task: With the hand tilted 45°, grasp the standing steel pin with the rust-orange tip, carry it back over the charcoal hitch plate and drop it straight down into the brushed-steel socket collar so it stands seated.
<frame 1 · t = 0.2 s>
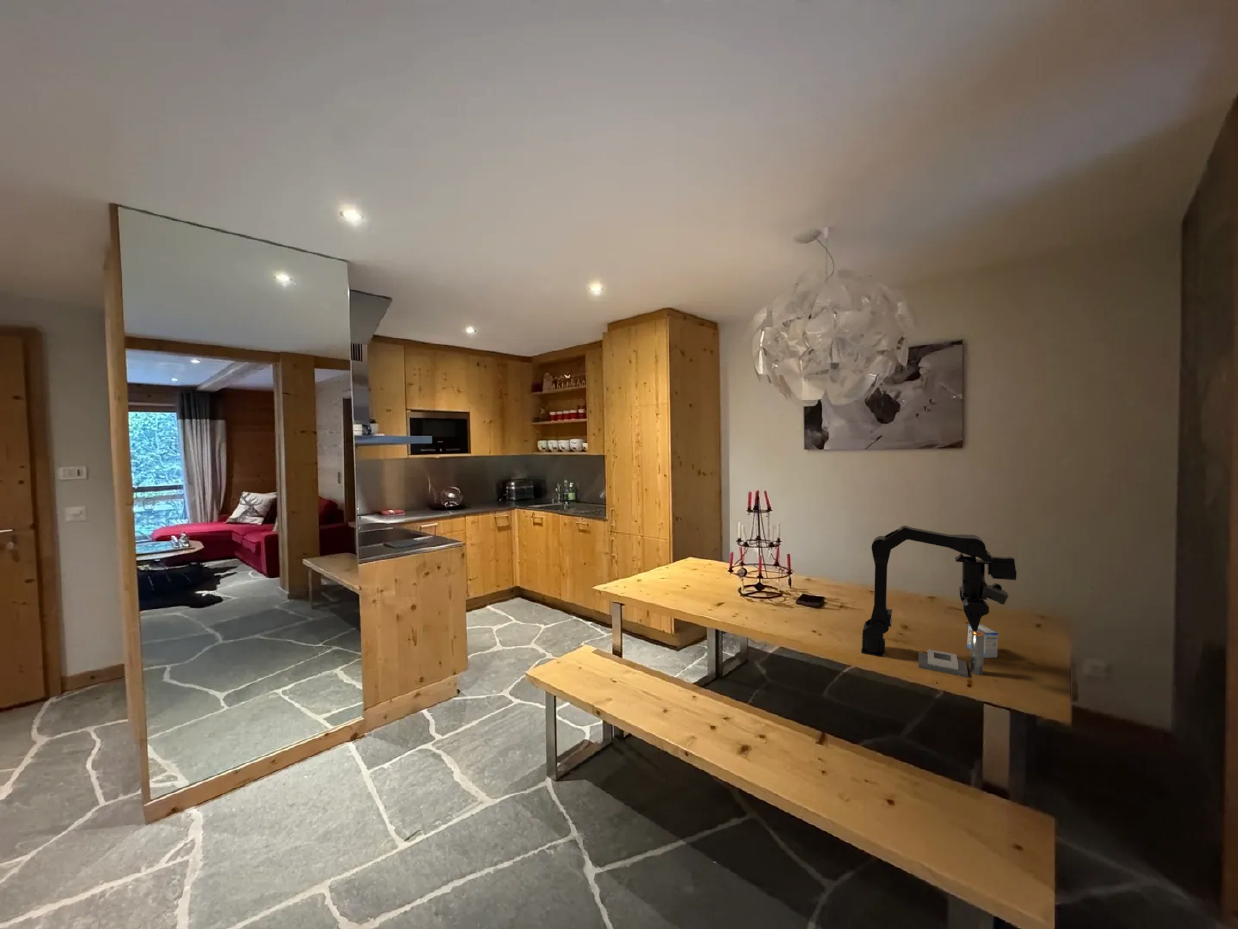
hand: (973, 625, 155), 15 cm above the table, tool pointing down, fingers open, 9 cm apart
hitch plate: (941, 665, 160), on the table
steel pin: (976, 672, 155), on the table
medicine box: (981, 653, 169), on the table
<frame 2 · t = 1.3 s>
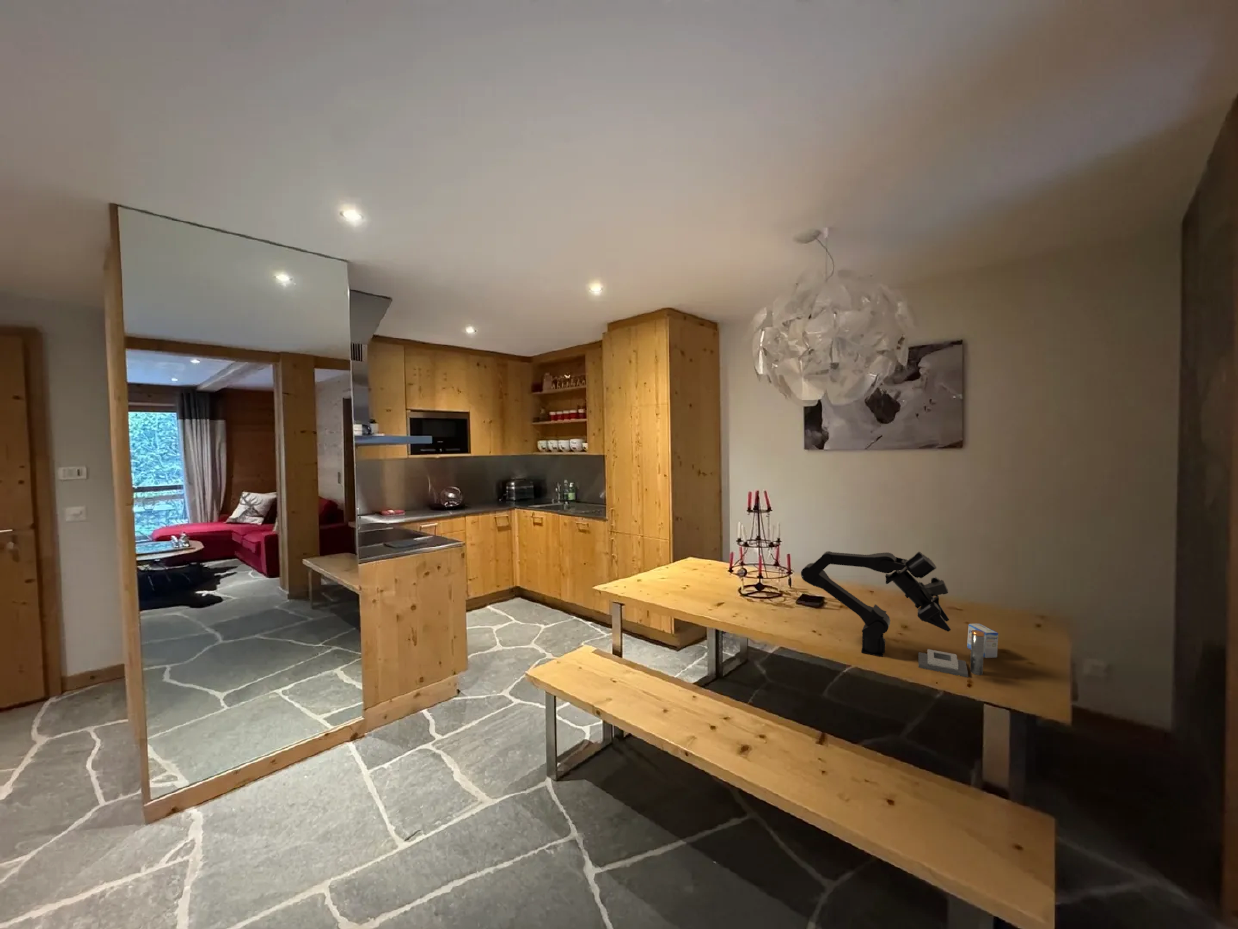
hand: (948, 625, 158), 14 cm above the table, tool tilted 45°, fingers open, 9 cm apart
nothing on the table moved.
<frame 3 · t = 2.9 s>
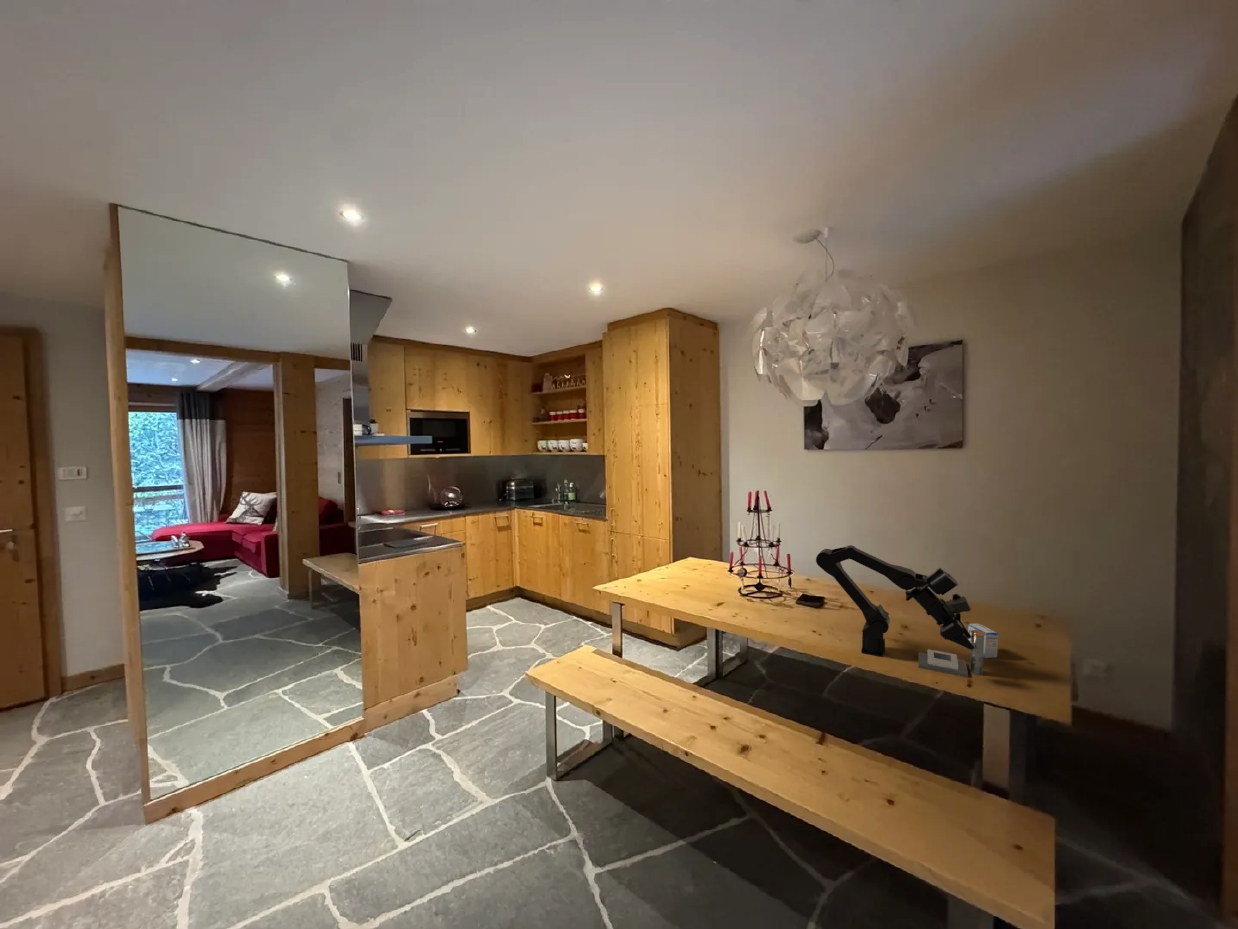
hand: (971, 643, 155), 9 cm above the table, tool tilted 45°, fingers open, 9 cm apart
nothing on the table moved.
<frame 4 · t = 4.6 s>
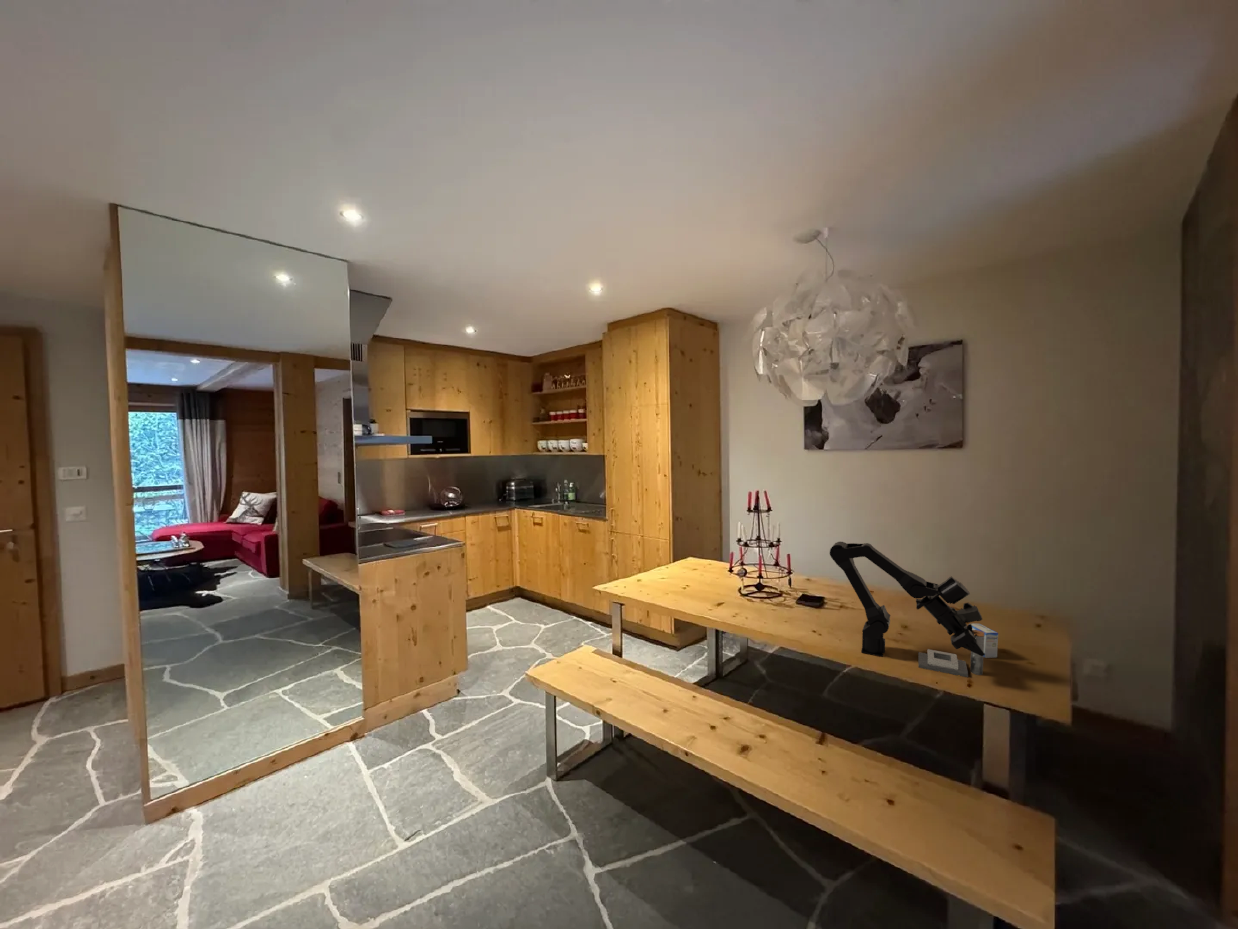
hand: (982, 653, 154), 7 cm above the table, tool tilted 45°, fingers closed on steel pin, 3 cm apart
steel pin: (976, 672, 155), on the table, touching gripper
everything else where it was.
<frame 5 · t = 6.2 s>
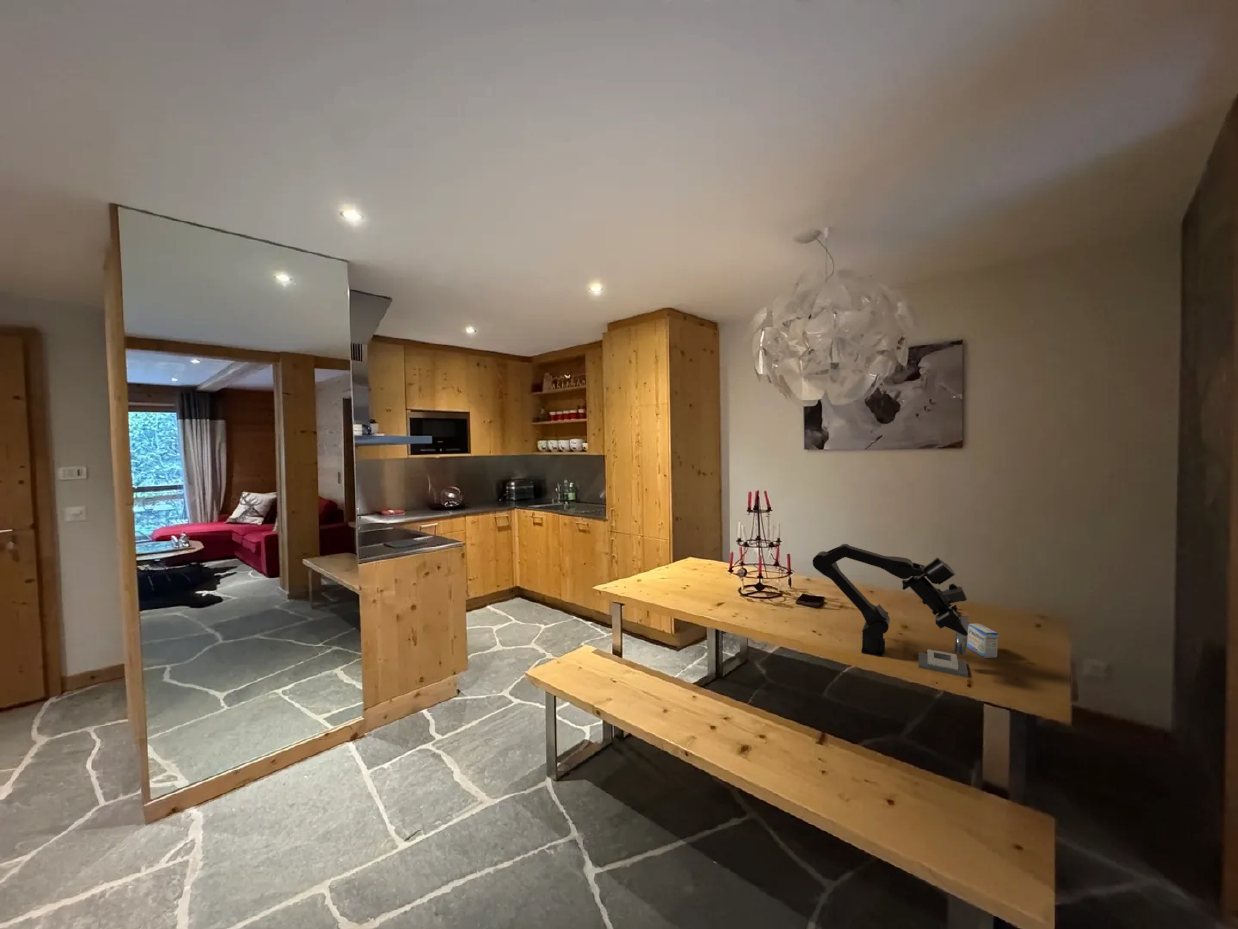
hand: (966, 633, 156), 12 cm above the table, tool tilted 45°, fingers closed on steel pin, 3 cm apart
steel pin: (959, 652, 157), point 5 cm above the table, touching gripper
everything else where it was.
when the fingers open (8 cm above the table, at t = 7.8 s): steel pin stays where it is, resting on hitch plate.
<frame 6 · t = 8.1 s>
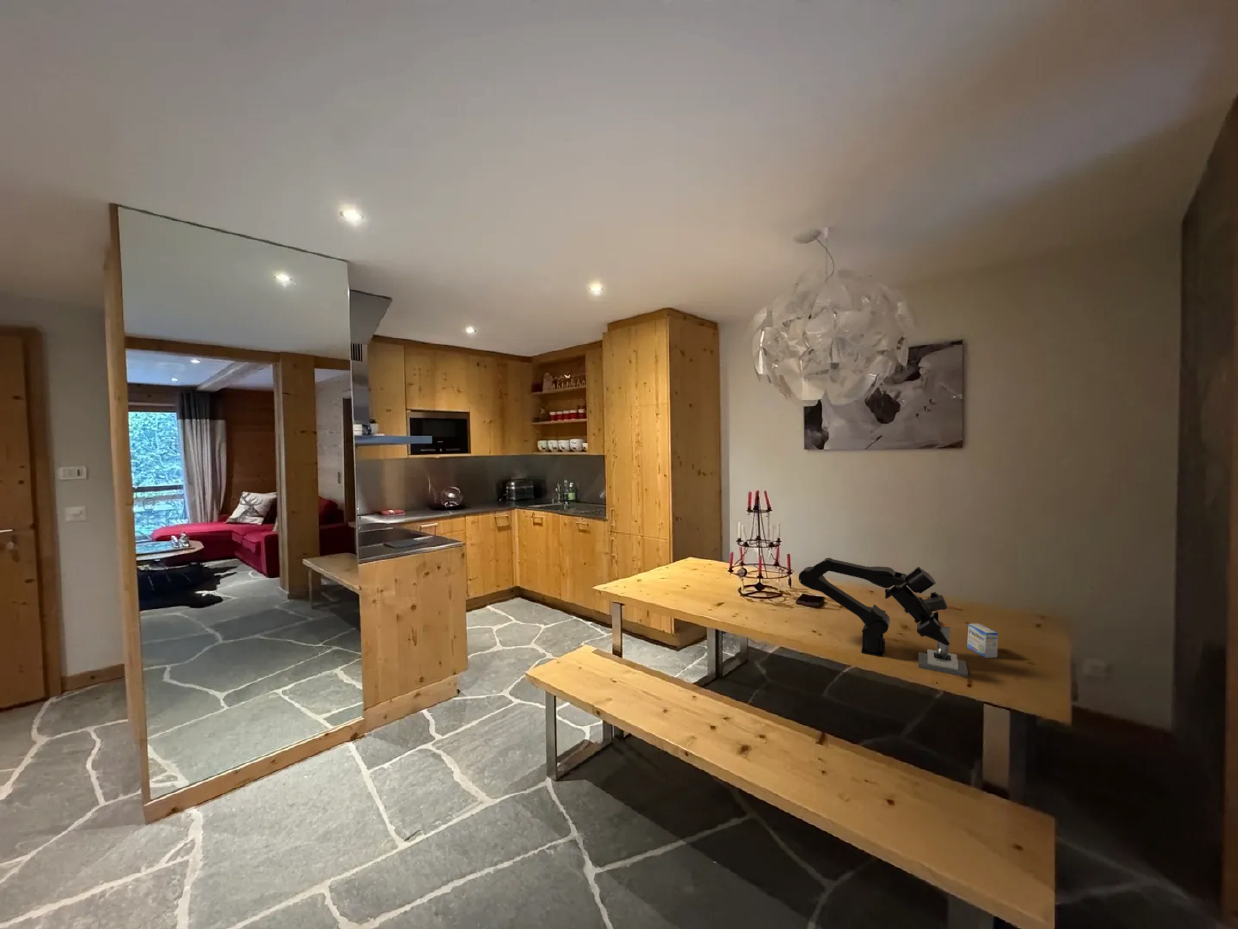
hand: (948, 640, 158), 9 cm above the table, tool tilted 45°, fingers open, 6 cm apart
steel pin: (941, 662, 160), point 1 cm above the table, touching hitch plate
everything else where it was.
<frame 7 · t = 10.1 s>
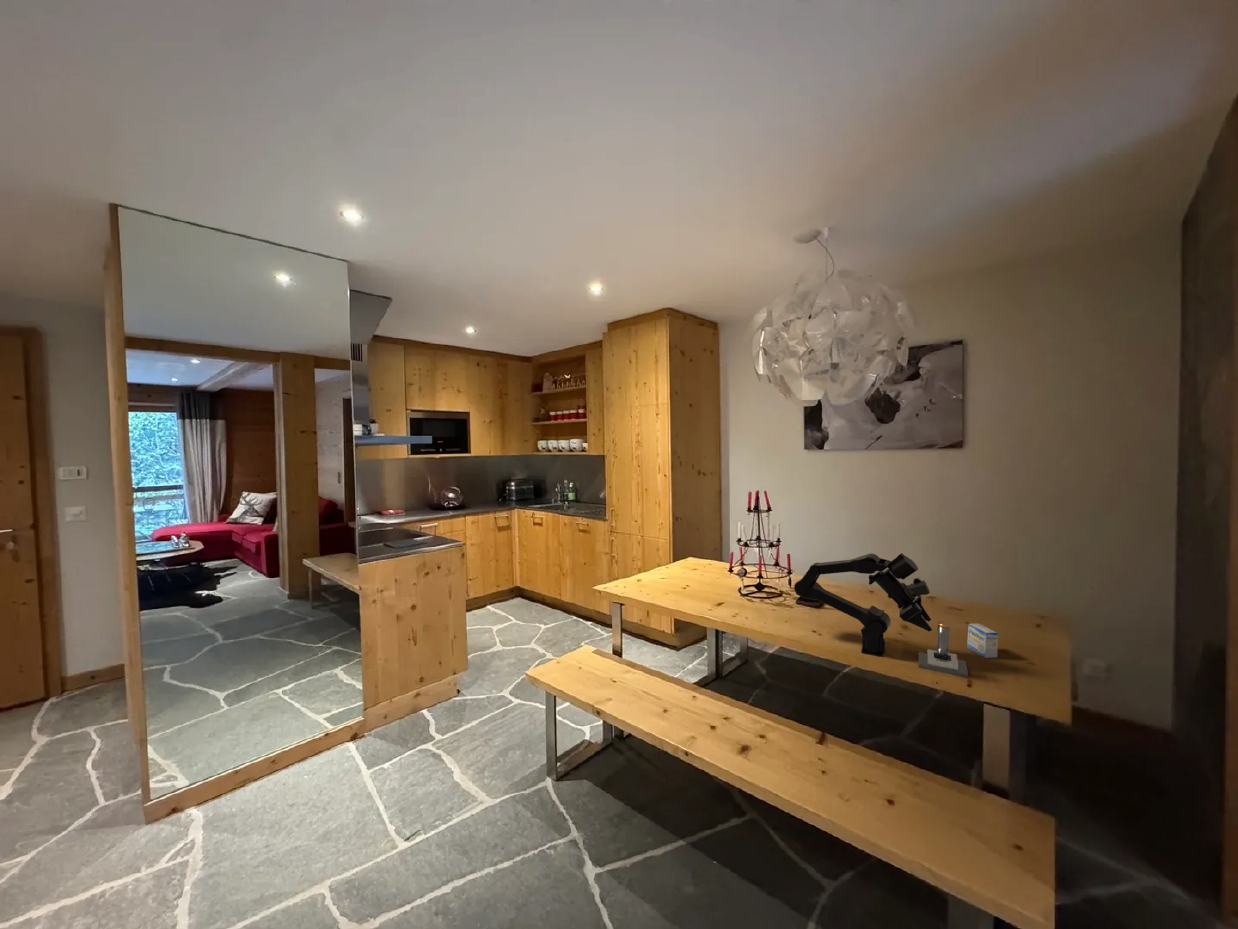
hand: (930, 625, 161), 13 cm above the table, tool tilted 45°, fingers open, 9 cm apart
nothing on the table moved.
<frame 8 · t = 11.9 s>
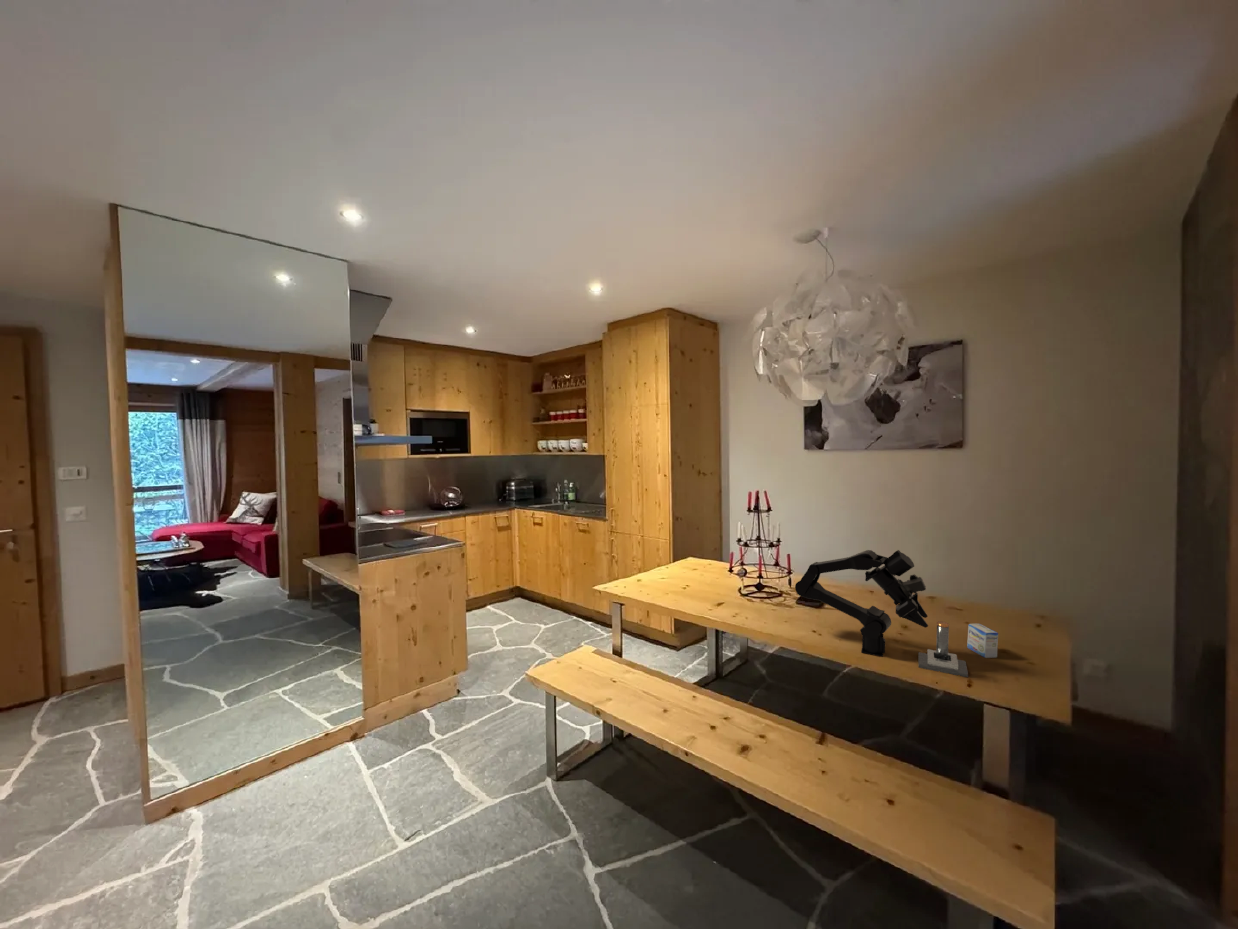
hand: (926, 621, 161), 14 cm above the table, tool tilted 45°, fingers open, 9 cm apart
nothing on the table moved.
at the end: steel pin 0.1 cm off-centre on the hitch plate, point 1.0 cm above the hitch plate's base; steel pin tilted 1°; the gripper is holding nothing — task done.
